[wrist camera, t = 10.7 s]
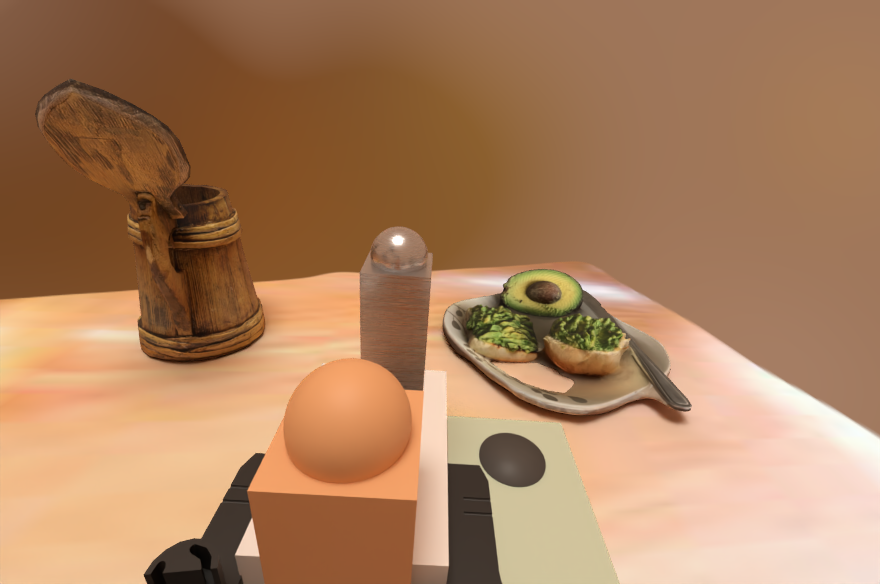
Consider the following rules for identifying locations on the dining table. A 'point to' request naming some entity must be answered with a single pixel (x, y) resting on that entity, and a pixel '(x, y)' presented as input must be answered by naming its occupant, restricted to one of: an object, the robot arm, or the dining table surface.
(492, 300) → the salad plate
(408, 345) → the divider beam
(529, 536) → the hole board
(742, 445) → the dining table surface
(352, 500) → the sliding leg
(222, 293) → the wooden mug
